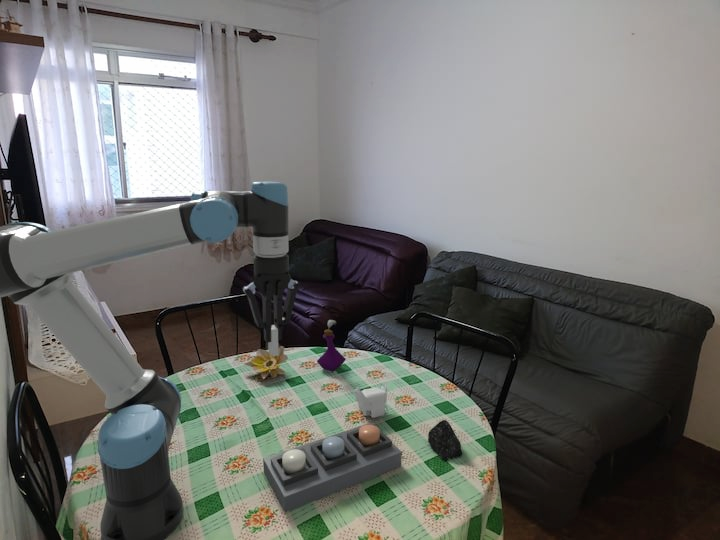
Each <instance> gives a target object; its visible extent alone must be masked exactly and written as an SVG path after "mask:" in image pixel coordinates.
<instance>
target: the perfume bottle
mask: <svg viewBox="0 0 720 540" xmlns="http://www.w3.org/2000/svg"><path fill="white" fill-rule="evenodd" d="M336 324H337V321H336V320H333V319H329V320H327V327H328V329H325V330H324V332H323V333H324V334H323V335H322V337H323V339H324V340H326V343H327V347H326V350H325V351H324V352H323V354H322V355H321V356H320V357H319V358H318V359H317V360H316V363H317V364H318V365H319V366H320V367H321V368H322V370H324V371H328V372H331V373H334V372H336V371H337V370H338V369H340V368H341V367H342V365H343V364H344V363H345V361H346V360H347V359H346V357H344V355H342V354H341V352H339V350H338V349H337V348H336V347H335V344H334V342H333V340H334V339H335V334H333V333H334V332H333V330H331V329H330V328H331V327H332V326H333V325H334V326H335V325H336Z"/></svg>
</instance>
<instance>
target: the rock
mask: <svg viewBox="0 0 720 540" xmlns="http://www.w3.org/2000/svg"><path fill="white" fill-rule="evenodd" d="M427 438H428V439H427V441H428V444H429V447H431V449H432V450H433V451H435V453H436V454H437V455H438V456H439V457H440V459H441V460H442V461H444V462H448V461H449V460H450V459H451V460H453V459H455V458H458V457H461V456H462V455H463V451H462V445H461V441H460V439H458V437H457V436H456V433H455V430H454V429H453V428H452V426H451V424H450V422H448V421H447V419H443V420H441V421H439V422H438V423H437V424H435V425H434V426H433V428H431V429H430V430H429V432H428V434H427Z"/></svg>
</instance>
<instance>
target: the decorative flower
mask: <svg viewBox="0 0 720 540" xmlns="http://www.w3.org/2000/svg"><path fill="white" fill-rule="evenodd" d="M288 360H289V357H288V356H287V354H285V347H284V346H282V345H281V346H278V356H273V357H272V356H271V355H270V353H269V352H268V350H266V349H260V348H258V349H257V350H256V355H254V356H252V358H251V359H250V361H247V362H244V363H243V364H242V365H243V366H246V367H249V368H251V370H252V371H253V372H257V373H260V375H261V377H262V379H265V378H266V377H268V376H269V374H270V376H271V377H272V378H277V375H284V374H286V371H285V370H284V369H282V368H280V365H281V364H283V363H285V362H287V361H288Z"/></svg>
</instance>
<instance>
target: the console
mask: <svg viewBox="0 0 720 540" xmlns="http://www.w3.org/2000/svg"><path fill="white" fill-rule="evenodd" d="M364 425H374V426H376V427H378V426H377V425H376V424H374V423H373V422H369V423H366V424H363V425H360V426H357V427H354V428H351V429H350V428H349V429H347V430H344V431H341V432H339V433H335V434H333V435H332V434H331V435H329V436H327V437H324V438H320V439H318V440H314V441H311V442H308V443H305V444H302V445H299V446H296V447H294V448H290V449H286V450H285V451H280V452H278V453H275V454H272V455H269V456H266V457H264V458H262V461H263V462H262V464H263V474H264V476H265V478H266V479H267V482H268V483H269V485H270V487H271V489H272V491H273V493H274V494H275V496H276V499H277V500H278V502H279V504H280V506H281V508H282V509H283V512H284V514H285V513H288V512H291V511H293V510H297V509H299V508H300V507H304V506H306V505H309V504H311V503H314V502H316V501H317V500H320V499H324V498H325V497H327V496H328V497H329V496H330V495H333V494H336V493H337V492H340V491H344V490H345V489H348V488H351V487H353V486H355V485H357V484H361V483H363V482H365V481H368V480H370V479H372V478H375V477H377V476H380V475H383V474H385V473H388V472H390V471H392V470H395V469H397V468H400V467H402V455H403V454H402V451H401V450H400V449H399V448H398V447H397V446H396V445H395V444H394V443H393V440H392V439H390V438H389V437H388V435H386V434H385V433H384V432H383V431H382V430H381V429H380V428H379V430H380V441H379V443H377V444H375V445H372V446H364V445H362V444H361V443H360V442H359V429H360V428H361V427H362V426H364ZM328 437H339V438H341V439H343V441H344V455H343V456H341V457H339V458H336V459H333V460H331V459H327V458H325V457H324V456H323V451H322V443H323V441H324V440H325V439H326V438H328ZM293 449H297V450H301V451H303V452H304V453H305V456H306V467H305V469H304V470H302V471H300V472H297V473H294V474H288V473H286V472H285V471H284V470H283V464H282V456H283V454H284V453H285V452H287V451H289V450H293Z"/></svg>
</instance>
